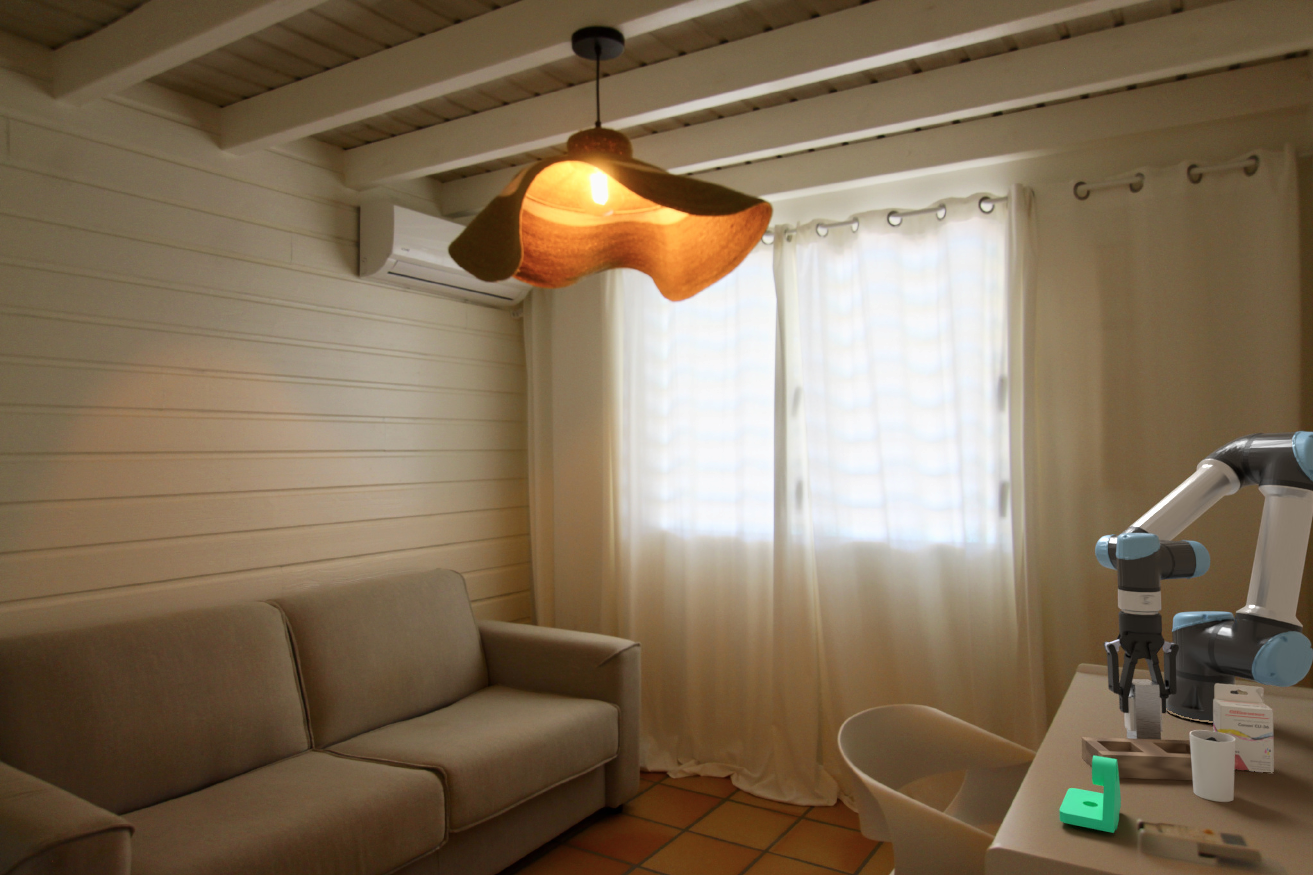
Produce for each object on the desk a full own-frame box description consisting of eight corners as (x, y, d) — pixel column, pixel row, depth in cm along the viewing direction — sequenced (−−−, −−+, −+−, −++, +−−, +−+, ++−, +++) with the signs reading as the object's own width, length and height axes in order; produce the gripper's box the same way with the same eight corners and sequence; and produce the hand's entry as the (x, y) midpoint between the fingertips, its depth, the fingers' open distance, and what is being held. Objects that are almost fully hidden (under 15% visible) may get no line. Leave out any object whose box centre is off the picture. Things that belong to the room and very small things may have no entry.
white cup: (1182, 787, 150) (1181, 729, 150) (1221, 787, 149) (1219, 730, 150) (1205, 802, 143) (1204, 742, 143) (1246, 803, 143) (1244, 742, 143)
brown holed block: (1192, 761, 163) (1192, 740, 163) (1221, 781, 153) (1220, 758, 153) (1081, 758, 165) (1081, 737, 165) (1103, 776, 155) (1102, 754, 155)
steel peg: (1150, 739, 172) (1148, 679, 173) (1161, 746, 168) (1159, 685, 168) (1127, 738, 173) (1125, 678, 173) (1136, 746, 168) (1135, 684, 169)
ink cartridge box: (1220, 768, 159) (1218, 688, 159) (1213, 760, 163) (1211, 682, 164) (1275, 774, 156) (1273, 692, 156) (1266, 765, 161) (1264, 686, 161)
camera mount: (1069, 802, 144) (1068, 740, 144) (1121, 812, 140) (1119, 748, 140) (1058, 828, 134) (1057, 761, 134) (1114, 840, 129) (1112, 771, 130)
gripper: (1101, 614, 168) (1104, 734, 168) (1196, 614, 166) (1200, 736, 166) (1086, 607, 176) (1089, 722, 175) (1177, 608, 174) (1180, 724, 173)
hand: (1143, 728), depth 170 cm, fingers closed on steel peg, 4 cm apart
